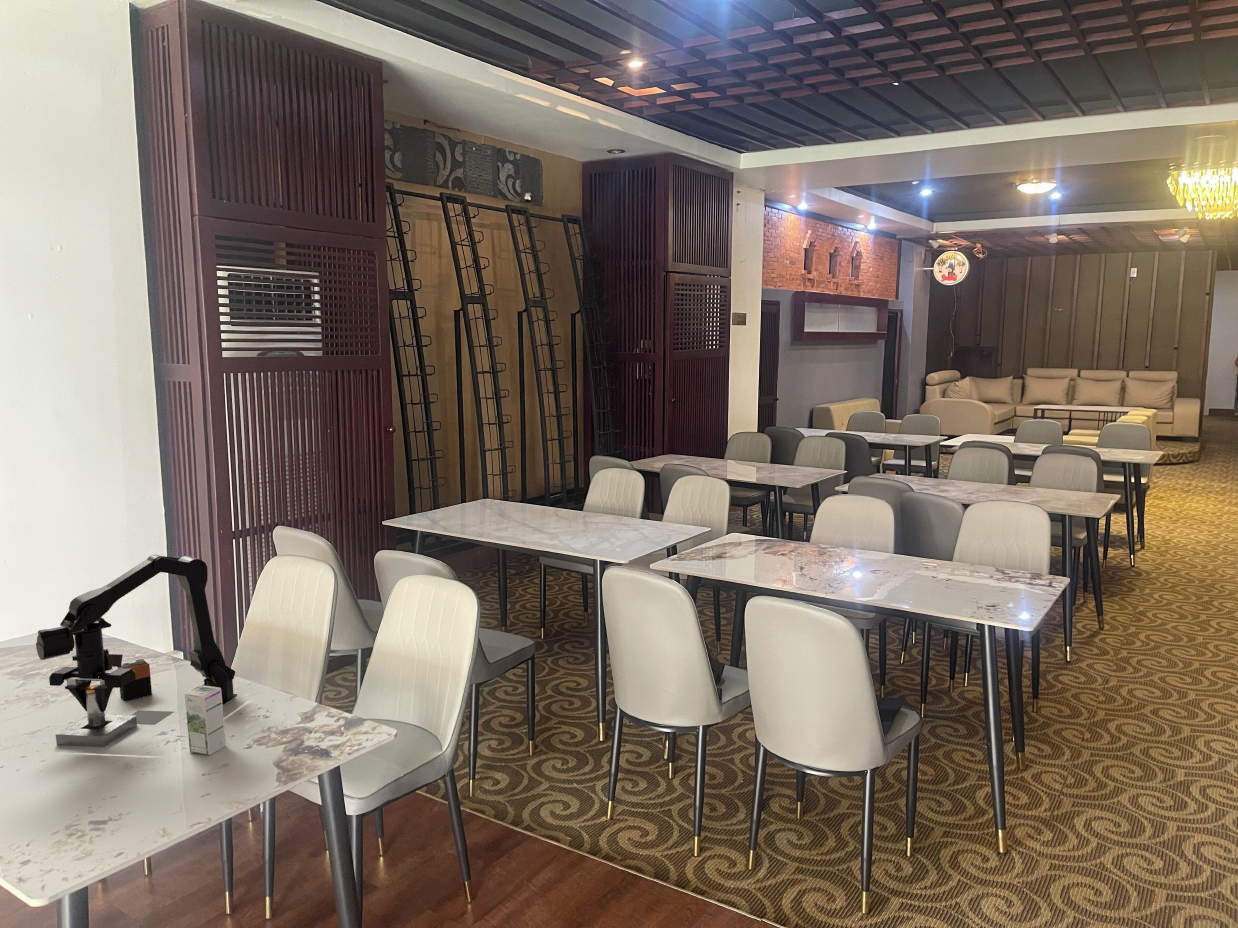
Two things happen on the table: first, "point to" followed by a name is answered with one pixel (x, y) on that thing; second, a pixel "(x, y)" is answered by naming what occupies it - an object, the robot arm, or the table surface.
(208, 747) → the syrup box
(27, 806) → the table surface
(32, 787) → the table surface
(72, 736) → the block
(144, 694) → the battery
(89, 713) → the silver copper cylinder
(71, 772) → the table surface
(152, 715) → the mat
